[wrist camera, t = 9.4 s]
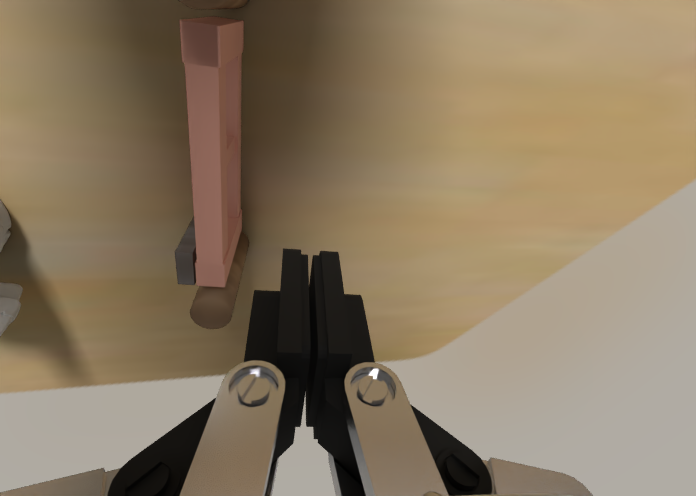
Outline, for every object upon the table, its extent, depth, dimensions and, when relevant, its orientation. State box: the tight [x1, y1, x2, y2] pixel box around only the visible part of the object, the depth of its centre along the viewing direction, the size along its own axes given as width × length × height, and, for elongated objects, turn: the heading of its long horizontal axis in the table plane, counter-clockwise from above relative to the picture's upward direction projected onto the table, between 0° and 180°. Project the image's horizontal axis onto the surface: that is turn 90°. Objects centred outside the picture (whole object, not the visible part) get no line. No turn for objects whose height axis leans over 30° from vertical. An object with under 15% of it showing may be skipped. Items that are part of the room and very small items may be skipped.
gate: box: [179, 16, 244, 287], centre depth 23 cm, size 14×2×7 cm, turn 172°
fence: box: [175, 0, 249, 329], centre depth 21 cm, size 26×4×8 cm, turn 172°
